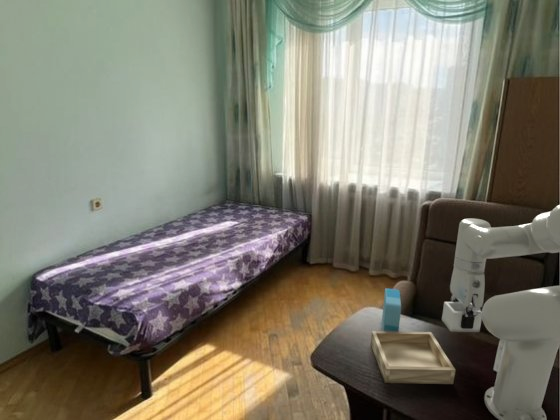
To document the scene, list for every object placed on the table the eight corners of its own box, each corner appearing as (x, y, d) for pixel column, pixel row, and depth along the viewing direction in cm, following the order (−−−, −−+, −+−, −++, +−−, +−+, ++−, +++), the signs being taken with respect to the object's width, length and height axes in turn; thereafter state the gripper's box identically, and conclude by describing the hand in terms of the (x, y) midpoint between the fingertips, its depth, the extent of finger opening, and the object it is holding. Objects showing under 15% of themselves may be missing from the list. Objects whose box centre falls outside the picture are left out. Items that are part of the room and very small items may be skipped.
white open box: (479, 331, 99) (482, 312, 98) (450, 331, 99) (453, 312, 98) (468, 320, 105) (471, 301, 103) (441, 319, 105) (444, 301, 104)
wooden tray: (452, 384, 93) (455, 370, 92) (384, 382, 93) (386, 368, 92) (429, 344, 109) (431, 332, 107) (370, 343, 109) (371, 331, 108)
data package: (397, 340, 110) (401, 307, 107) (382, 338, 111) (385, 305, 108) (395, 319, 121) (399, 288, 118) (382, 317, 123) (385, 286, 119)
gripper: (501, 277, 89) (490, 339, 93) (467, 251, 105) (459, 305, 110) (471, 277, 89) (462, 339, 94) (442, 251, 106) (435, 305, 110)
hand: (460, 320), depth 102 cm, fingers closed on white open box, 6 cm apart
